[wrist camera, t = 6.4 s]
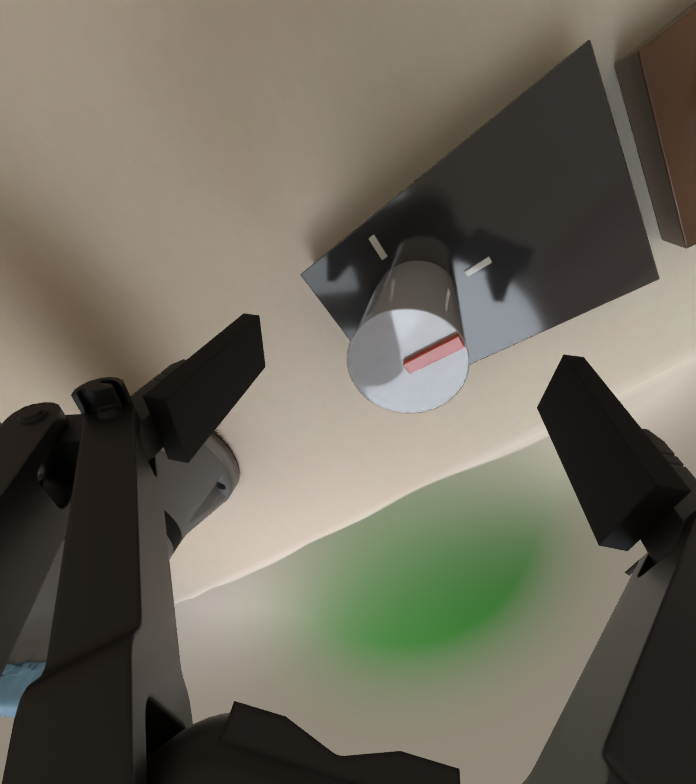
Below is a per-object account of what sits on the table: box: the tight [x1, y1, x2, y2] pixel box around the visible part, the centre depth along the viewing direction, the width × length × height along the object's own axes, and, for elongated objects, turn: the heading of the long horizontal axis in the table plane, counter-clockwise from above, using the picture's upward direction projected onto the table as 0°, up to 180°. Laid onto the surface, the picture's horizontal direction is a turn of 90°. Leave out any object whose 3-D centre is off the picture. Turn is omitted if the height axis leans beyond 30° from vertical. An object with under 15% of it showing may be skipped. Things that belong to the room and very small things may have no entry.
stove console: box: [301, 40, 659, 365], centre depth 20 cm, size 16×11×3 cm
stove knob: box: [347, 261, 470, 413], centre depth 17 cm, size 5×5×8 cm
